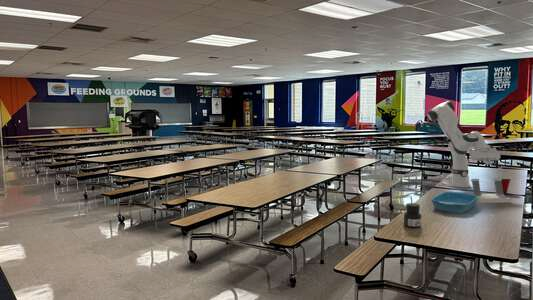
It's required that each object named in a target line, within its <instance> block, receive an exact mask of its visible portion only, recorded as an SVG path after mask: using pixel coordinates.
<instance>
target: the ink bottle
mask: <svg viewBox="0 0 533 300" xmlns="http://www.w3.org/2000/svg"><path fill="white" fill-rule="evenodd" d="M403 226H404V227H406V228H409V229H420V228H421V227H422V214H421V213H420V204H419V203H415V202H410V203H406V205H405V212H404V213H403Z"/></svg>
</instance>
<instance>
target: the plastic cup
mask: <svg viewBox="0 0 533 300" xmlns="http://www.w3.org/2000/svg"><path fill="white" fill-rule="evenodd" d="M495 178H502V181H501V182H502V188H503V193H504V194H507V193H508V189H509V186H510V183H511V179H512V177H507V176H494V179H495Z"/></svg>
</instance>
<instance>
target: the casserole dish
mask: <svg viewBox="0 0 533 300" xmlns="http://www.w3.org/2000/svg"><path fill="white" fill-rule="evenodd" d="M471 194H472V193H467V192H458V191H445V192H444V191H443V192H441V193H438V194H437V195H434V196H433V197H432V198H431V201H432V205H433V207H434V209H435V210H437V211H442V212H445V211H446V213H452V212H453V213H452V214H464V213H466V212H469V210H471V209H472V208H473V207H475V206H476V204H477V202H476V201H477V199H478V196H475V195H471Z"/></svg>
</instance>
